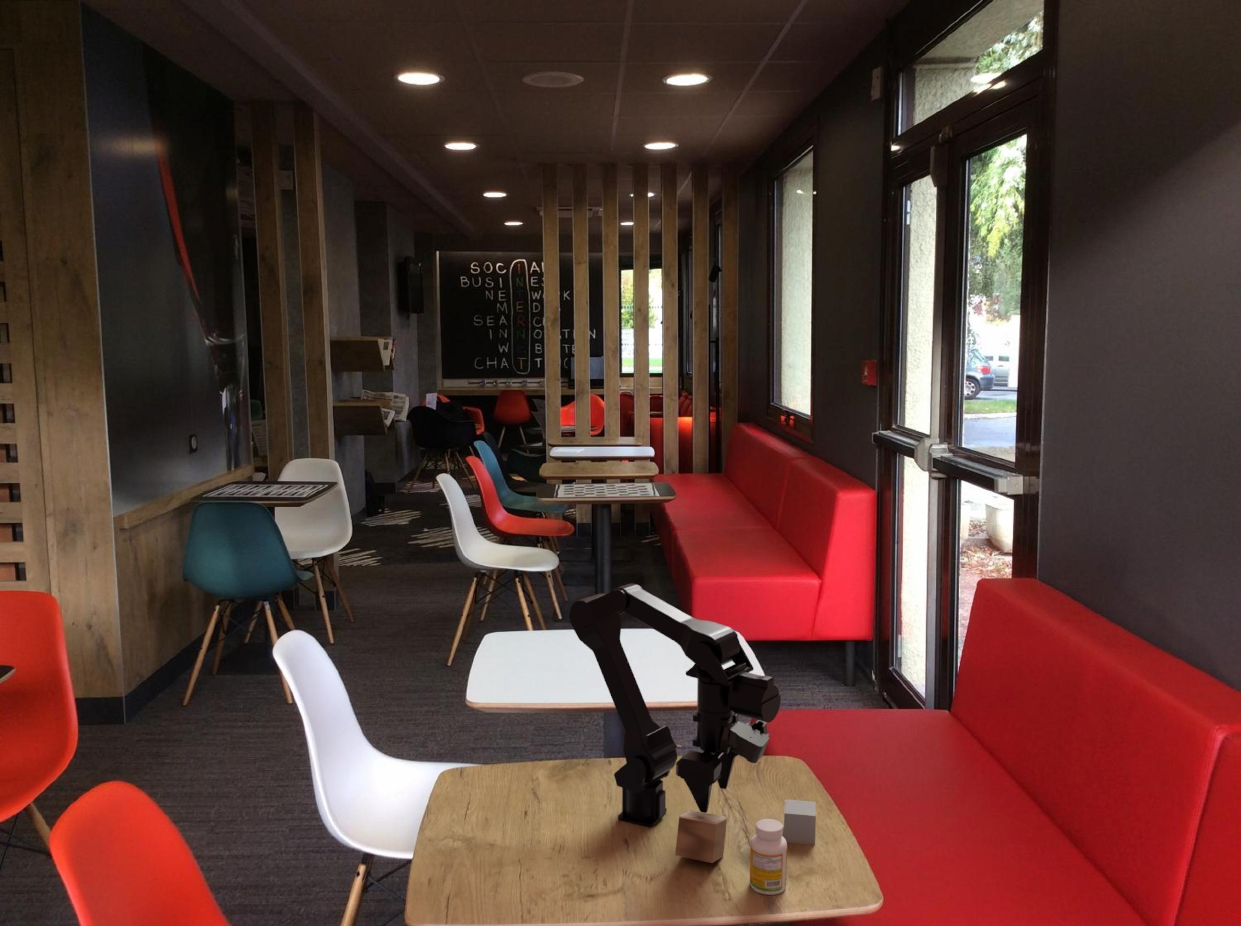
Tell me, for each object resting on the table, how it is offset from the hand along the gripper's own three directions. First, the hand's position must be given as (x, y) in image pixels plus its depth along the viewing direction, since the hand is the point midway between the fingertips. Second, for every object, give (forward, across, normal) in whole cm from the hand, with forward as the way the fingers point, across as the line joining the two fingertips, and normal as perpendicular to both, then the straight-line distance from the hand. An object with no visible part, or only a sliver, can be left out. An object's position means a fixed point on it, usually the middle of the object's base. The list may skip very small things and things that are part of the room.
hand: (713, 799), depth 167 cm
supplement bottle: (+8, -9, -12) cm, 17 cm away
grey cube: (+7, +8, -12) cm, 16 cm away
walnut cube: (+1, -5, 0) cm, 5 cm away
